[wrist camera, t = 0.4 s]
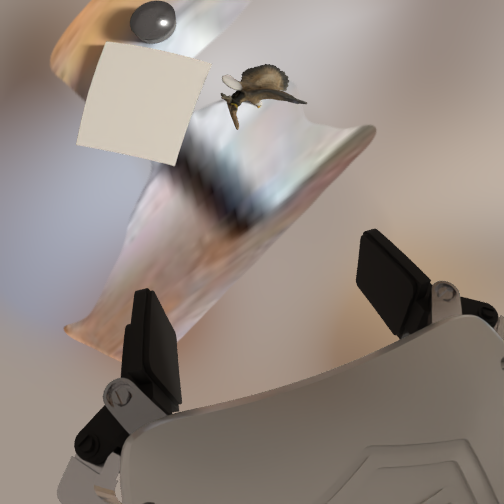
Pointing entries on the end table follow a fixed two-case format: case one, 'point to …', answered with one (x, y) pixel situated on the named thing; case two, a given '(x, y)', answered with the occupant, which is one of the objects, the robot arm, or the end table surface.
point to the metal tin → (153, 22)
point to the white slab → (141, 102)
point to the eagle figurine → (257, 88)
